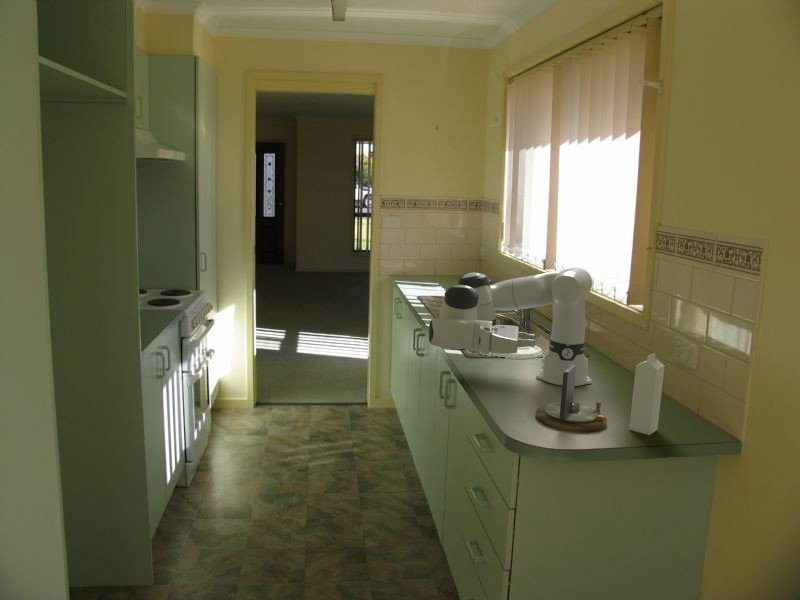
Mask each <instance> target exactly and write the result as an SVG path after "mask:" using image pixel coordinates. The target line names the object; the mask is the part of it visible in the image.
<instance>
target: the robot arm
mask: <svg viewBox="0 0 800 600" xmlns="http://www.w3.org/2000/svg"><path fill="white" fill-rule="evenodd" d="M592 278H593V277H592V276H591V275H590V273H589V272H588V271H587V270H585V269H583V268H581V267H568V268H564V269H559V270H553V271H549V272H545V273H539V274H533V275H528V276H521V277H516V278H509V279H506V280H502V281H499V282H497V283H493V282H494V280H493V279H490V278H489V277H488V275H486V274H484V273H482V272H481V273H480V272H468V273H466V274H464V275H463V276H461V277H460V278H459V279H458V282H457V284H456V285H452V286H450V287H448V288H447V290H445V291H444V301H443V303H442V304H441V306H440V308H439V311H438V314H439V317H436V318H431V320H430V321H429V327H428V341H429V344H430V345H432V346H435V347H439V348H443V349H444V348H445V349H450V350H452V351H466V350H468V351H471V352H479V353H480V352H481V353H482V354H489V353H490V352H491V353H508V354H510V353H516V352H517V348H518V347H528V346H529V347H534V346H535V345H536V336H535V334H534V333H528V332H523V331H519V330H520V327H519V326H517V325H509V324H507V325H506V324H497V322H498V321H497V320H498V319H497V317H496V311H516V310H517V311H518V310H526V309H532V308H540V307H544V306H548V305H552V307H551V308H552V322H551V323H552V324H551V325H552V326H551V337H550V339H549V343H548V352H547V353H546V354H544V356H543V357H542V359H541V364H542V365H541V369H540V370H539V371H538V373H537V374H536V377H535V378H536V379H538V380H541V381H544V382H547V383H550V384H553V385H557V386H562V385H563V374H564V371H565V370H566V369H567V368H569V367H570V366H571V365H576V373H575V384H574V387H579V386H583V385H591V384H592V383H593V382H592V381H593V380H592V379H591V378H590V377H589V375H588V367H589V365H588V364H589V359H588V358H587V357H586V356H585V354H584V353H585V349H586V343H585V334H586V333H585V332H586V325H587V324H586V323H587V318H586V297H587V295H589V294H590V292H591V290H592V287H593V279H592ZM491 283H493V284H491Z"/></svg>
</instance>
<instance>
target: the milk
mask: <svg viewBox="0 0 800 600" xmlns="http://www.w3.org/2000/svg"><path fill="white" fill-rule="evenodd" d="M665 367H666V366H665V364H663V363H662V362H660V361H659V360H658V359H657V358H656V353H655V352H654V353H652V354H649V355H648V356H647V357H646V360H645V361H642V362H640V363H638V364H636V365H635V373H634V379H633V381H634V382H633V388H632V389H633V390H632V398H631V399H632V400H631V409H630V417H629V425H628V426H629V427H628V429H629V430H630V431H633V432H637V433H640V434H644V435H648V436H651V435H652V434H653V433H655V432H656V431H658V427H659V417H660V410H661V409H660V408H661V400H662V395H663V394H662V392H663V385H664V384H663V382H664V376H665V375H664V374H665V369H666V368H665Z"/></svg>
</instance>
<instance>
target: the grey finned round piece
mask: <svg viewBox="0 0 800 600" xmlns="http://www.w3.org/2000/svg"><path fill="white" fill-rule="evenodd" d="M575 373H576V365H571V366H570V367H569V368H567V369H566V370H565V371H564V374H563V385H561V386H562V387H561V397H560V402H559V401H557V402H550V403H548V404H546V406H545V405H544V406H545V413H546V414H547V415H548V416H549V417H551V418H554V419H557V420H559V421H564V422H570V423H590V422H594V421H596V420H598V421H603V420H604V416H605V415H604V414H603V415H604V416H603V415H598V412H597V411H596V408H593V407H591V406H588V405H585V404H581V403H579V402H577V401H574V392H575V386H574V384H575Z"/></svg>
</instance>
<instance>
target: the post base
mask: <svg viewBox="0 0 800 600" xmlns="http://www.w3.org/2000/svg"><path fill="white" fill-rule="evenodd" d="M601 404H602V402H601V401H596V405H595V410H596V411H597V412H598V415H603V416H604V420H603V421H598V420H596V421H594V422H590V423H570V422H564V421H559V420H557V419H554V418H551V417H549V416H548V415H547V414H546V413H545V406H546V405H547V404H546V405H542V406H539V407H537V409H536V410H535V419H536V420H537V421H538V422H539V423H540V422H541V423H540V424H541V425H544V426H546V427H549V428H552V429H555V430H559V431H565V432H569V433H595V432H600V431H602V430H604V429H606V427H607V418H606V416H605V415H604V414H603V413H601Z"/></svg>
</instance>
